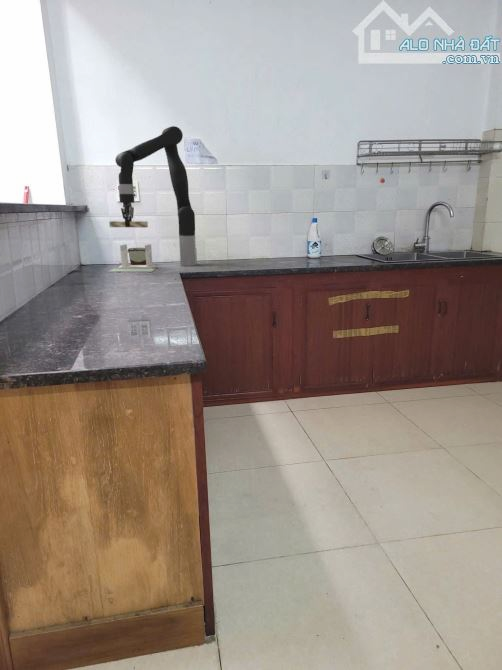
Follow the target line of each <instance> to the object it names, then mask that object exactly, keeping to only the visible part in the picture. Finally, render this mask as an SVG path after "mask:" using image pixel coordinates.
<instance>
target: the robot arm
mask: <svg viewBox="0 0 502 670" xmlns="http://www.w3.org/2000/svg"><path fill="white" fill-rule="evenodd" d="M183 137H184V136H183V131H182V130H181V128H180V127H178V126H175V125H174V126H173V125H171V126H169V127H167V128H165V129H163V131H162V132H161V134H160V135H158V136H157V137H154V138H152V139H148V140H146V141H144V142H142V143H139V144H138V145H135V146H133V147H132V148H130V149H127V150H124V151H122V152H120V153H117V155H116V157H115V164H116V165H117V166H118V167H120V172H119V173H118V194H119V203H121V204H122V207H121V208H120V211H121V216H122V218H123V219H124V221H125V226H126V227H125V228H131V227H130V221H133V218H134V210H135V207H133V206H132V203H135V189H134V182H133V181H134V179H133V175H134V163H135V162H138V161H139V162H140V161H141V160H144V159H146V158H147V157H150V156H151V155H152V154H155V153H156V152H158V151H160V150H162V149H164V151H165V156H166V159H167V165H168V171H169V177H170V181H171V186H172V189H173V193H174V196H175V199H176V207H177V218H178V238H179V239H178V240H179V257H180V259H179V262H180V266H184V267H192V266H197V265H198V261H197V260H198V258H197V255H198V254H197V246H196V216H195V211H194V210H193V208H192V204H191V201H190V196H189V192H190V191H189V180H188V178H189V177H188V173H187V170H186V169H187V168H186V167H185V164H184V163H183V160H182V158H181V157H180V155H179V150H178V144H180V143H181V142H182V140H183Z"/></svg>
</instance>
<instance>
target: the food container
mask: <svg viewBox="0 0 502 670" xmlns="http://www.w3.org/2000/svg"><path fill="white" fill-rule="evenodd" d="M127 253H128V258H129V262H130V265H146V254H145V247H130V248H127Z"/></svg>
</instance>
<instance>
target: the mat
mask: <svg viewBox="0 0 502 670" xmlns="http://www.w3.org/2000/svg"><path fill="white" fill-rule="evenodd" d="M154 270H155V271H156V268H154V269H118V268H113V269H109V270H108V271H107V273H152V272H154Z"/></svg>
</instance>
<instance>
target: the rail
mask: <svg viewBox="0 0 502 670" xmlns="http://www.w3.org/2000/svg"><path fill="white" fill-rule="evenodd" d="M148 224H149V222H148V221H142V220H141V221H140V220H137V221H136V220H132V221H130V227H129V228H142V229H143V228H148V227H149V225H148ZM109 228H127V227H126V226H125V220H124V221H123V220H122V221H121V220H118V221H116V220H110V221H109Z"/></svg>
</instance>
